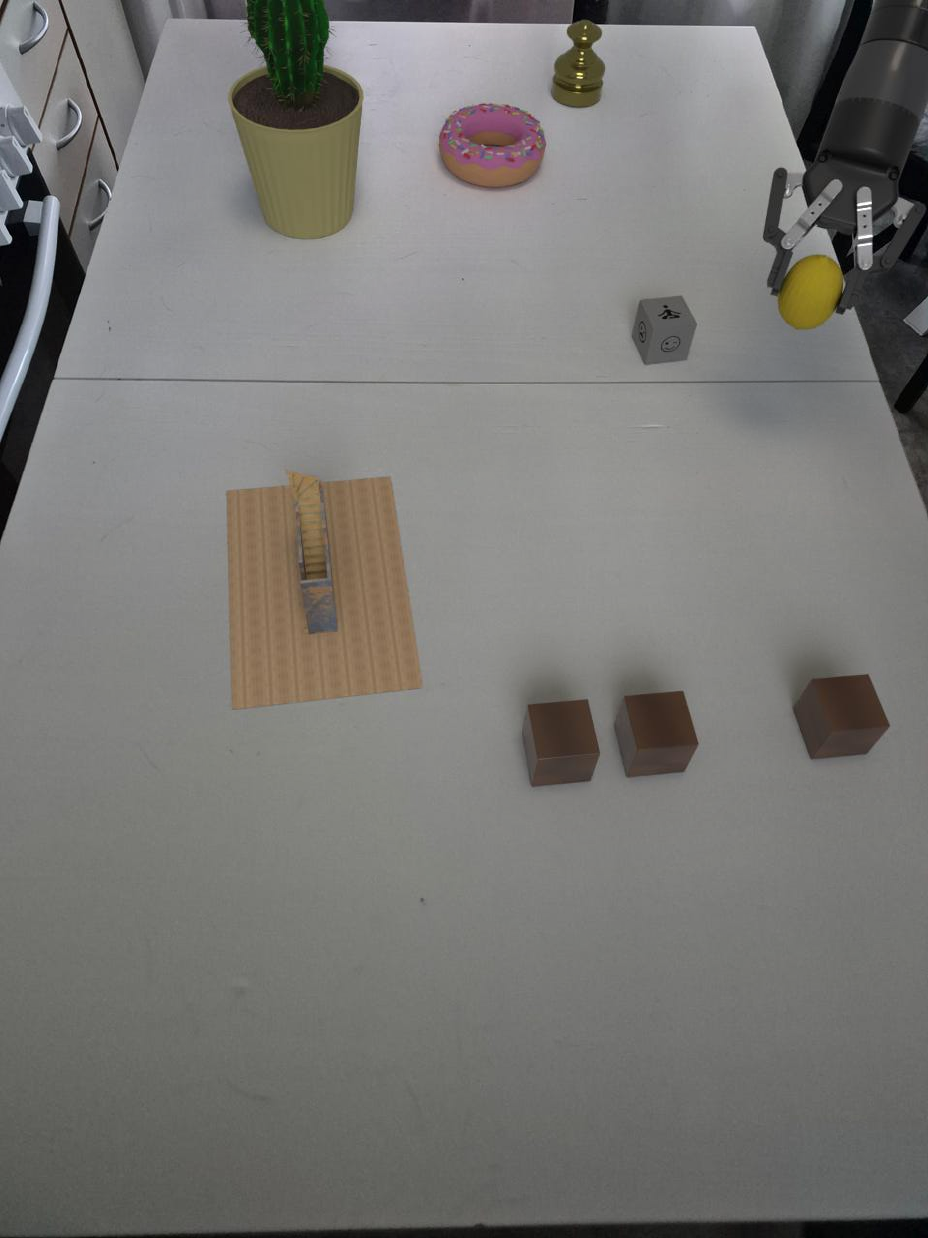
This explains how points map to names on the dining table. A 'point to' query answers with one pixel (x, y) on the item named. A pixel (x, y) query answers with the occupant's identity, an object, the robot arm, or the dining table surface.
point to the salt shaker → (579, 68)
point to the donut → (492, 127)
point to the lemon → (810, 292)
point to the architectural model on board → (317, 593)
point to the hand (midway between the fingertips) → (807, 302)
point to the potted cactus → (298, 120)
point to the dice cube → (663, 329)
